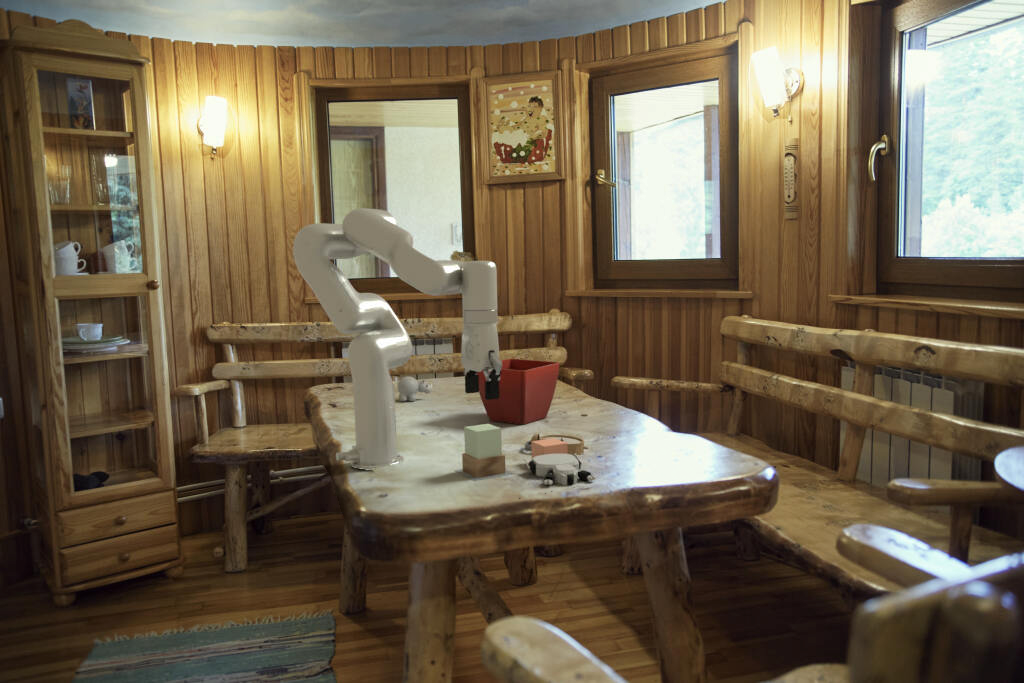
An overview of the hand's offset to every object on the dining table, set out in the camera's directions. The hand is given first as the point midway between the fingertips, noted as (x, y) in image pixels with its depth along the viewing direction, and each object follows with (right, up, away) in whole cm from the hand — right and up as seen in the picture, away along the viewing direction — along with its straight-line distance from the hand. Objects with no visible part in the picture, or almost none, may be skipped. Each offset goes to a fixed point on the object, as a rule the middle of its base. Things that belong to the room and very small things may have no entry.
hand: (482, 395), depth 173 cm
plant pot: (+8, -12, +64) cm, 65 cm away
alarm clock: (+17, -16, +22) cm, 32 cm away
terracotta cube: (+15, -17, +8) cm, 24 cm away
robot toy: (+17, -19, -3) cm, 25 cm away
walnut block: (0, -17, +2) cm, 17 cm away
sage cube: (0, -13, +1) cm, 13 cm away
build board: (0, -18, +2) cm, 18 cm away
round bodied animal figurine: (-27, -9, +101) cm, 105 cm away
